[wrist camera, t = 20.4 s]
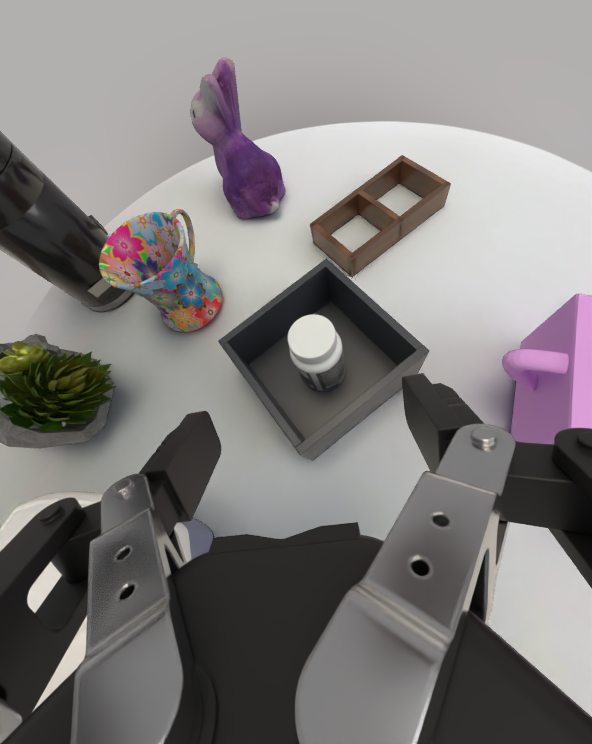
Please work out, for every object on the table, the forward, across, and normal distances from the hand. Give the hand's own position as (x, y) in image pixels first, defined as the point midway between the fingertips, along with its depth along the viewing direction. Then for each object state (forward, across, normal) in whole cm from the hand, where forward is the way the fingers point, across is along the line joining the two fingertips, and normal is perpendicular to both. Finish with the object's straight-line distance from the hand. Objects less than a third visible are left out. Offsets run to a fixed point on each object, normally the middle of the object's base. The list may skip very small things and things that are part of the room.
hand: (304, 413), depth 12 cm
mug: (+29, +15, -3) cm, 33 cm away
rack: (+32, -10, -6) cm, 34 cm away
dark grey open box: (+19, 0, +7) cm, 21 cm away
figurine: (+40, +6, -14) cm, 43 cm away
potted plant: (+21, +29, +6) cm, 36 cm away
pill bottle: (+19, 0, +7) cm, 20 cm away
